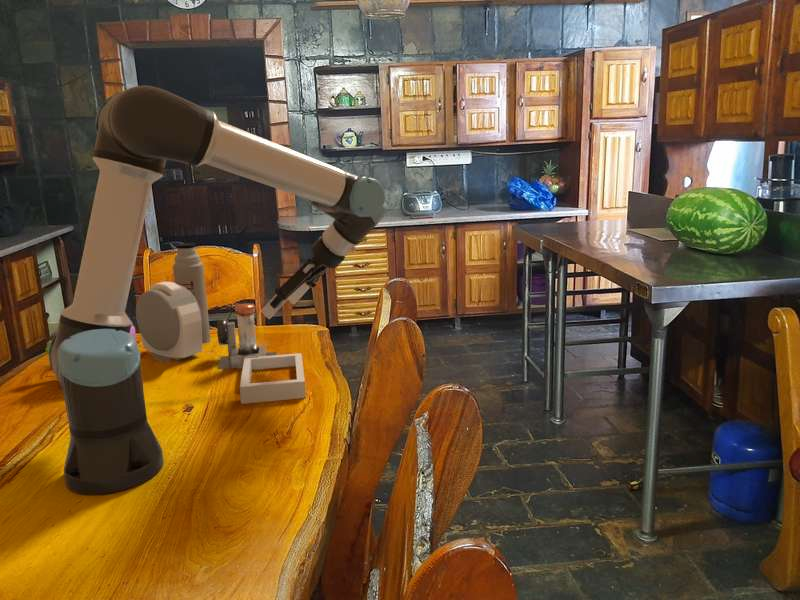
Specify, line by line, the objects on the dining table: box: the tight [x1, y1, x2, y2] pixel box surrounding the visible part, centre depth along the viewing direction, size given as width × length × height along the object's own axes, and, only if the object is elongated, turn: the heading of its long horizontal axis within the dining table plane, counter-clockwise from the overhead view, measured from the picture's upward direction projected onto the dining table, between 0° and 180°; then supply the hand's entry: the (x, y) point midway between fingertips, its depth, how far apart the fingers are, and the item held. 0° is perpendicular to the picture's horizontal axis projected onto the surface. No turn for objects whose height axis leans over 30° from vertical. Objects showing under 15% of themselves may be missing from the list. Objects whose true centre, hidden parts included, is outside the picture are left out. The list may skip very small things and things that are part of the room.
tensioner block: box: [216, 318, 277, 370], centre depth 155 cm, size 13×14×11 cm
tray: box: [239, 352, 307, 405], centre depth 142 cm, size 20×14×4 cm
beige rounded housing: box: [135, 281, 203, 363], centre depth 159 cm, size 18×8×20 cm, turn 58°
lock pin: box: [234, 302, 257, 355], centre depth 152 cm, size 5×5×15 cm
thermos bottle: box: [172, 242, 211, 345], centre depth 173 cm, size 8×8×28 cm
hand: (278, 307), depth 149 cm, fingers open, 13 cm apart
